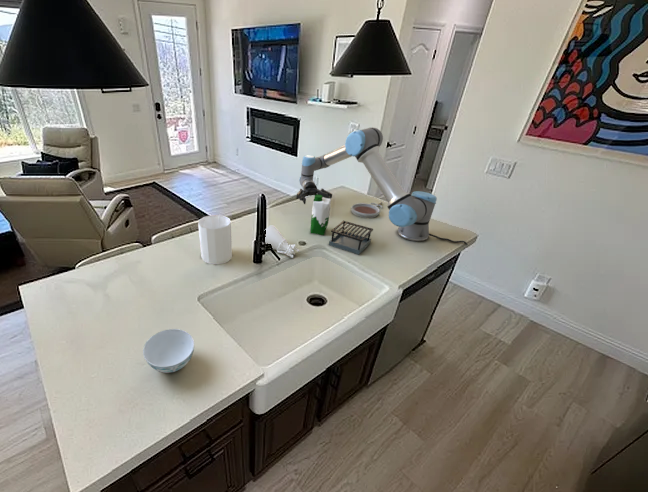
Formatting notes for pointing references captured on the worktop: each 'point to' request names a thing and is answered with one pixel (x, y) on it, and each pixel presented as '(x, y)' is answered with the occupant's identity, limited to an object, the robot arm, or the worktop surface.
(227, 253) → the container
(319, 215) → the soya milk
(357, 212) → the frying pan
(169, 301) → the worktop surface
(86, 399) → the worktop surface
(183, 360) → the chinaware
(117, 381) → the worktop surface
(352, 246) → the dish rack
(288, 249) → the rocket engine
